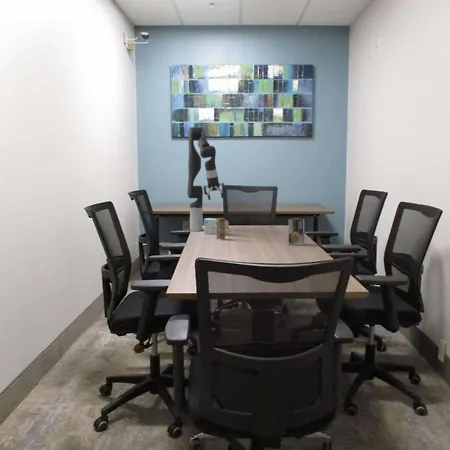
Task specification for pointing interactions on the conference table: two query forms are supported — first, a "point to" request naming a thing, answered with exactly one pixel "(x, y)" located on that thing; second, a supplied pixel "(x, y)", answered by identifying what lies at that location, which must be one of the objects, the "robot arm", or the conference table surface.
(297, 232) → the coffee box
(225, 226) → the maple block
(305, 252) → the conference table surface
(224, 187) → the robot arm
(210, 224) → the light bulb box
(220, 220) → the walnut block
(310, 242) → the conference table surface
